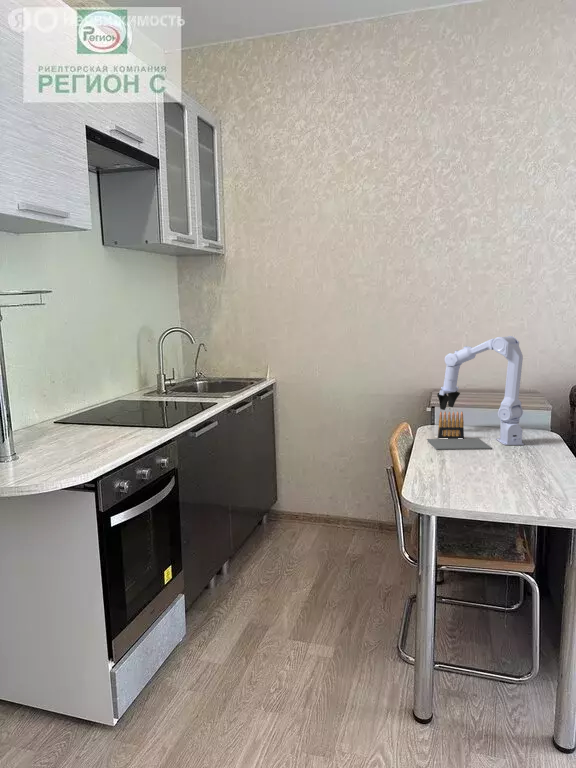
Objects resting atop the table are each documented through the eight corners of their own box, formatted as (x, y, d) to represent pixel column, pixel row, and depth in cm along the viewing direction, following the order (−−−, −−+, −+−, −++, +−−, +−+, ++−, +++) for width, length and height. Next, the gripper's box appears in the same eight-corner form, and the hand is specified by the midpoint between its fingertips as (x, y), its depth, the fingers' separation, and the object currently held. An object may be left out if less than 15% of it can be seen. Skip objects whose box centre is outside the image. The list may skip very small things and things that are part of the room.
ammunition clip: (463, 438, 233) (463, 410, 231) (463, 439, 231) (464, 411, 229) (437, 437, 234) (438, 410, 232) (438, 438, 232) (438, 411, 230)
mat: (492, 449, 213) (492, 447, 213) (436, 450, 214) (436, 448, 214) (478, 439, 229) (478, 438, 229) (426, 440, 230) (426, 439, 229)
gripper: (450, 375, 250) (446, 403, 254) (435, 379, 240) (430, 408, 243) (464, 378, 246) (460, 407, 249) (449, 382, 236) (445, 412, 239)
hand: (446, 408), depth 246 cm, fingers open, 7 cm apart
